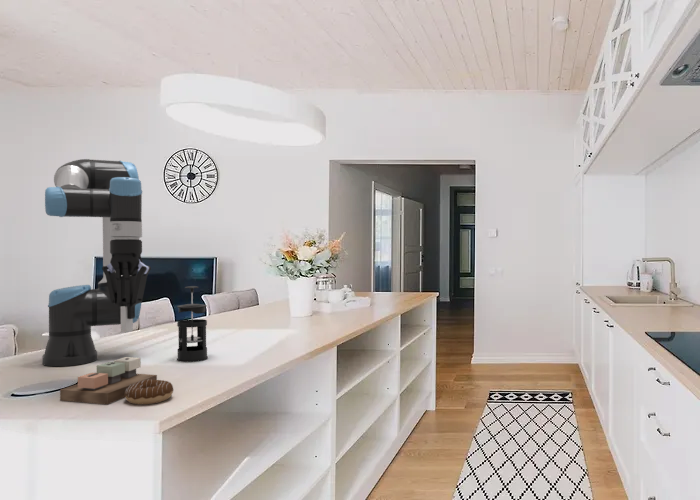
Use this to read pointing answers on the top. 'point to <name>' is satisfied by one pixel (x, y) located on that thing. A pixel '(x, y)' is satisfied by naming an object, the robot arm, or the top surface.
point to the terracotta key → (92, 380)
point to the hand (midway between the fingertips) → (126, 331)
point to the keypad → (105, 389)
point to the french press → (197, 351)
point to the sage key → (111, 368)
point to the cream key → (130, 363)
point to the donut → (148, 392)
